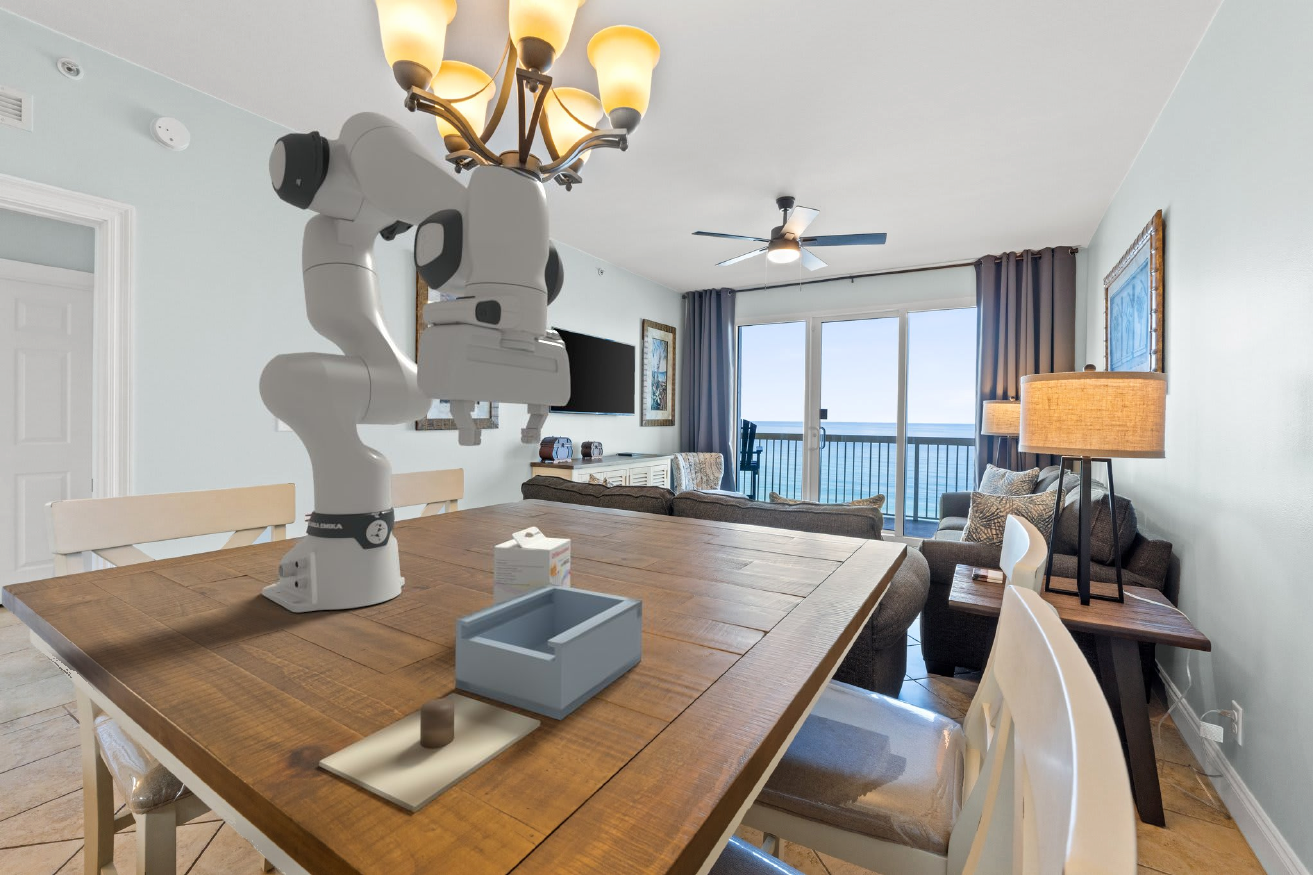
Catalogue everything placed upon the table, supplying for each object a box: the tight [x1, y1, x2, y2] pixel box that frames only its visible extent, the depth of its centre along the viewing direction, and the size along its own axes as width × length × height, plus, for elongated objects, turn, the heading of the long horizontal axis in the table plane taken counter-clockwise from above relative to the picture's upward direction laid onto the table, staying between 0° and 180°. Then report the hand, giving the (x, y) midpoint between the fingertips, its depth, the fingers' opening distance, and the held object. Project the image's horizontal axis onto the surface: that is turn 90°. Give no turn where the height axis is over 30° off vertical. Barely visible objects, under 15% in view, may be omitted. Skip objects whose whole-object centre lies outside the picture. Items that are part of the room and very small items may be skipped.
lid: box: [318, 692, 541, 813], centre depth 50 cm, size 12×14×4 cm
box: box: [454, 584, 643, 721], centre depth 65 cm, size 14×16×7 cm
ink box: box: [493, 526, 572, 605], centre depth 81 cm, size 9×8×13 cm
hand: (502, 444), depth 63 cm, fingers open, 8 cm apart
